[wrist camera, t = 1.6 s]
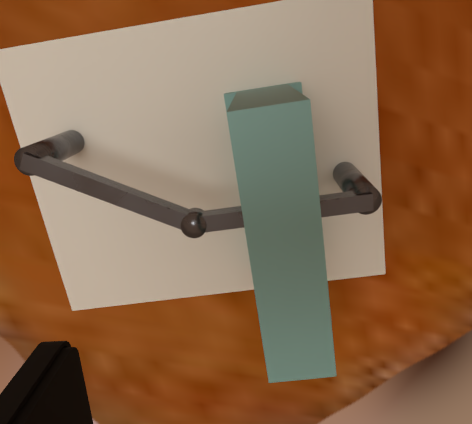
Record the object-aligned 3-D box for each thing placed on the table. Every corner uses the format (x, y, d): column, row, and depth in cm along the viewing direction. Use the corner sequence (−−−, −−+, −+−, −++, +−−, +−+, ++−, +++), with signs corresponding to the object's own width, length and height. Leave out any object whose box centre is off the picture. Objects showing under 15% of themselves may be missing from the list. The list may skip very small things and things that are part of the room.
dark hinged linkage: (358, 162, 37) (387, 190, 29) (346, 218, 38) (371, 259, 30) (61, 128, 37) (8, 146, 29) (62, 185, 38) (13, 217, 30)
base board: (367, -12, 33) (372, -15, 32) (381, 266, 41) (385, 274, 40) (0, 51, 36) (-10, 51, 35) (78, 302, 44) (72, 310, 42)
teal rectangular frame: (299, 81, 34) (331, 96, 20) (317, 262, 40) (353, 374, 25) (224, 93, 35) (205, 115, 21) (252, 270, 40) (252, 384, 26)
